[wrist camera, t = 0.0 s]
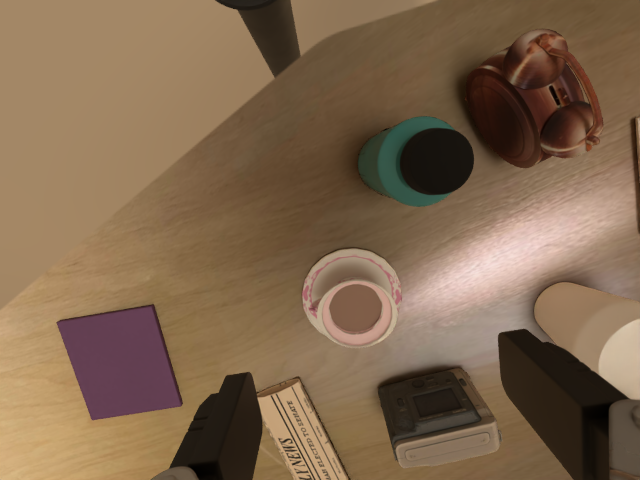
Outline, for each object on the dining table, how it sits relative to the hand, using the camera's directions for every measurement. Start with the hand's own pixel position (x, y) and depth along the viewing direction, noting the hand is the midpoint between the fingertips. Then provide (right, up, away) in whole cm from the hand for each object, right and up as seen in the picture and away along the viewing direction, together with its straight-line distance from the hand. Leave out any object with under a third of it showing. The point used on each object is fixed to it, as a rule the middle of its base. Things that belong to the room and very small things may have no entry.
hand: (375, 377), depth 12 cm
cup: (+28, -4, +33) cm, 43 cm away
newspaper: (-3, -25, +38) cm, 45 cm away
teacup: (+2, -2, +32) cm, 33 cm away
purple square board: (-27, -11, +34) cm, 45 cm away
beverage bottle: (+5, +13, +29) cm, 32 cm away
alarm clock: (+17, +18, +28) cm, 37 cm away
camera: (+11, -15, +35) cm, 40 cm away
